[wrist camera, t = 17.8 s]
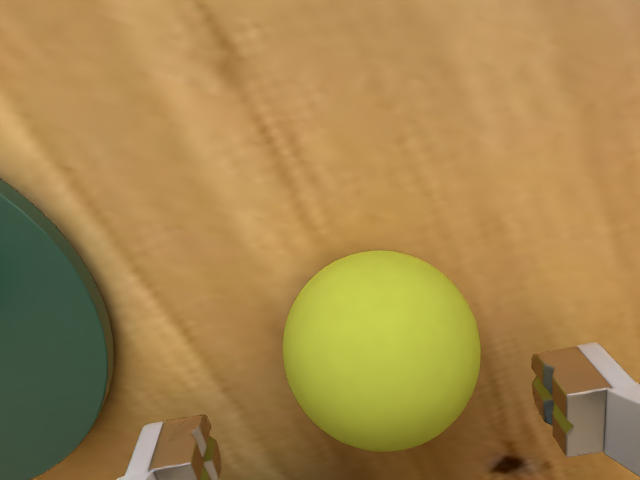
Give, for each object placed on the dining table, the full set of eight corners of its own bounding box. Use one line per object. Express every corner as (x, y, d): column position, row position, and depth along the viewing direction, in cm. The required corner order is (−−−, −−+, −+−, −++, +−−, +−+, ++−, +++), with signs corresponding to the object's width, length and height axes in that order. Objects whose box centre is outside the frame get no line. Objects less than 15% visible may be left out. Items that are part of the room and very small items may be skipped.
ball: (444, 207, 15) (510, 298, 10) (455, 352, 17) (514, 482, 12) (270, 236, 15) (255, 339, 10) (301, 376, 17) (301, 513, 13)
